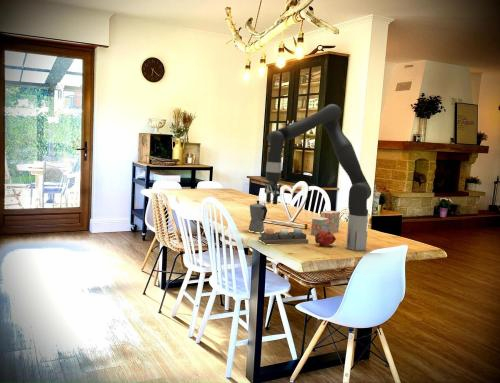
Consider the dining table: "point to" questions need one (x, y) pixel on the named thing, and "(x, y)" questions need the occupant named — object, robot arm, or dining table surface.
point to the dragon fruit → (324, 238)
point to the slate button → (297, 231)
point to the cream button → (283, 231)
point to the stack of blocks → (326, 222)
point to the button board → (284, 238)
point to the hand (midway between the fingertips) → (271, 203)
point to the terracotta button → (269, 232)
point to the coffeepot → (257, 217)
